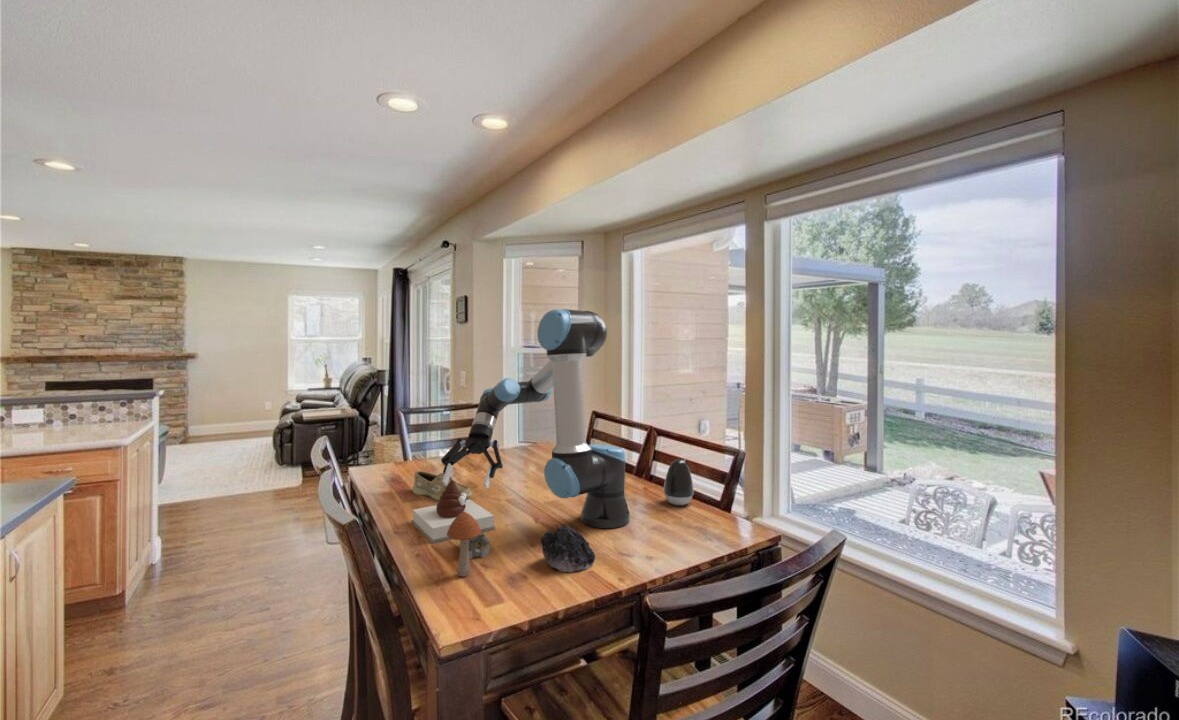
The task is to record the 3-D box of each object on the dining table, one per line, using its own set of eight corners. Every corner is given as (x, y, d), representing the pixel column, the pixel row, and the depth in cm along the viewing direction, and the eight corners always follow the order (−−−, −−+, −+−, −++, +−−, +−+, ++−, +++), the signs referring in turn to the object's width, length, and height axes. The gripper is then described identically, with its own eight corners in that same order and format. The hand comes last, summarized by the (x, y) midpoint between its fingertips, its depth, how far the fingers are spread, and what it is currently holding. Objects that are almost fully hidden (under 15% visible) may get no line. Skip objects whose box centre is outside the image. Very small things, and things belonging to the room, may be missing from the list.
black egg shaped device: (697, 501, 178) (698, 458, 177) (686, 510, 169) (687, 464, 168) (670, 496, 183) (671, 454, 182) (658, 504, 174) (659, 460, 174)
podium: (495, 529, 150) (495, 515, 149) (432, 543, 139) (432, 528, 139) (470, 511, 165) (470, 498, 164) (411, 522, 154) (411, 509, 154)
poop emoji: (439, 507, 156) (440, 477, 156) (468, 506, 157) (468, 476, 157) (433, 519, 146) (433, 486, 146) (464, 518, 147) (464, 486, 147)
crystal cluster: (600, 556, 134) (598, 518, 135) (590, 575, 121) (588, 532, 121) (551, 555, 137) (549, 517, 137) (536, 574, 123) (534, 532, 124)
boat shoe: (476, 498, 178) (476, 475, 178) (458, 505, 170) (459, 481, 170) (424, 487, 190) (424, 466, 190) (406, 494, 182) (406, 471, 182)
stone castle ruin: (490, 558, 131) (490, 542, 131) (460, 561, 129) (460, 545, 128) (486, 542, 141) (486, 527, 141) (458, 544, 139) (458, 530, 138)
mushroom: (469, 563, 127) (470, 503, 126) (487, 574, 121) (488, 512, 121) (440, 573, 121) (440, 511, 121) (457, 585, 116) (457, 520, 115)
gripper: (519, 436, 175) (505, 493, 161) (451, 433, 179) (431, 488, 165) (515, 424, 170) (500, 481, 155) (444, 421, 173) (423, 476, 159)
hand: (464, 485), depth 160 cm, fingers open, 13 cm apart
